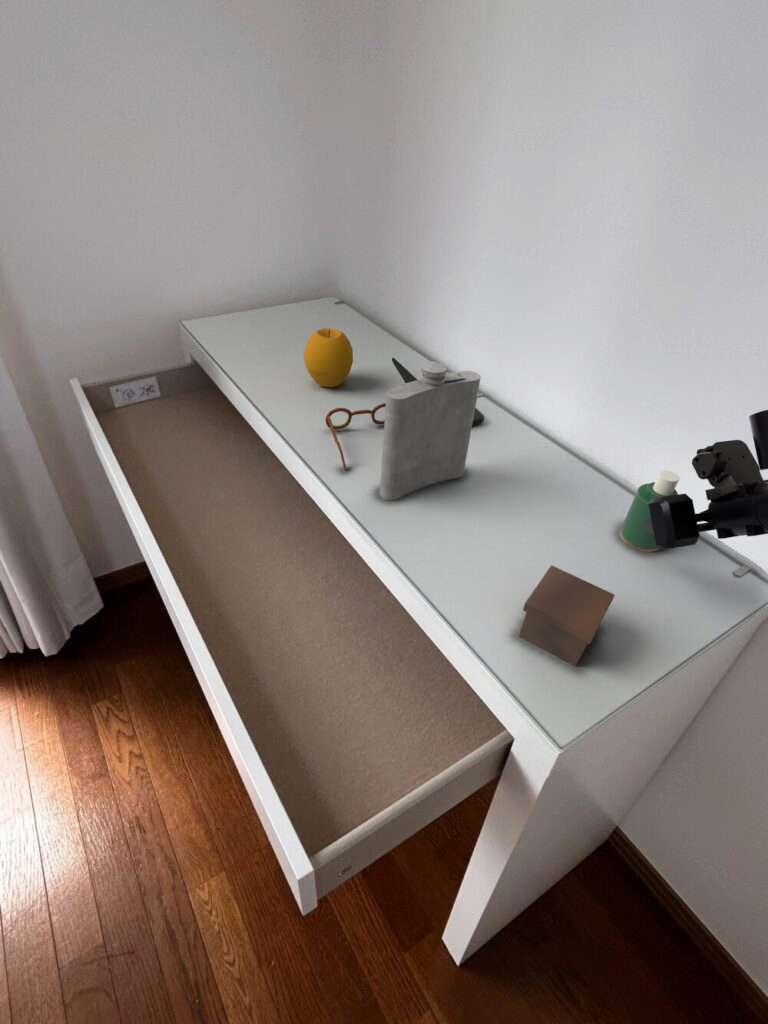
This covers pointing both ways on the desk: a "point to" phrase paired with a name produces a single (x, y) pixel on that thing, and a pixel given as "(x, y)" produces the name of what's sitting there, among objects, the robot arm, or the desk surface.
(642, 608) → the desk surface
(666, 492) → the bottle
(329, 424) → the glasses
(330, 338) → the apple
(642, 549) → the coaster
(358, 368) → the desk surface
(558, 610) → the brown lidded box
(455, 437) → the hip flask
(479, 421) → the game console
